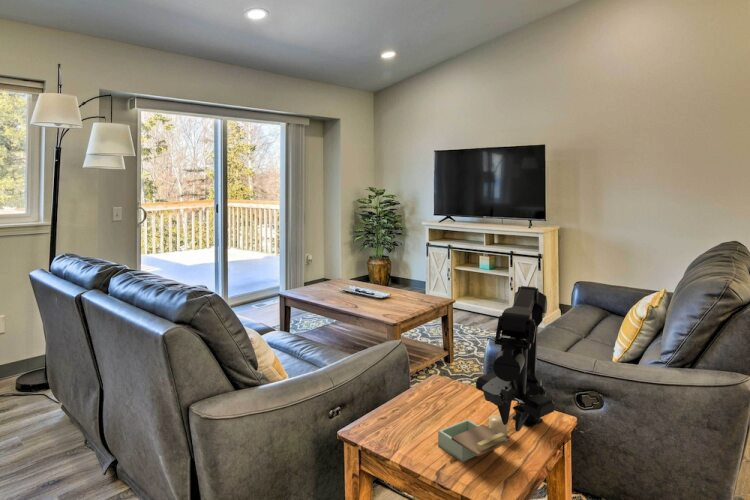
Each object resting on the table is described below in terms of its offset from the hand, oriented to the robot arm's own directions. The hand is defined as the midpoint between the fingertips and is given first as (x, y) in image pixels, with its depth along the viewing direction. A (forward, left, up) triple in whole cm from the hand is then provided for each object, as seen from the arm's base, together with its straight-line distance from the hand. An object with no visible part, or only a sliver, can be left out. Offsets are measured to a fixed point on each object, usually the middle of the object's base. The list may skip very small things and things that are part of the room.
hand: (511, 427), depth 109 cm
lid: (0, -9, -8) cm, 12 cm away
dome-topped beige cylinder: (-12, -14, -13) cm, 22 cm away
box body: (0, -15, -12) cm, 20 cm away
